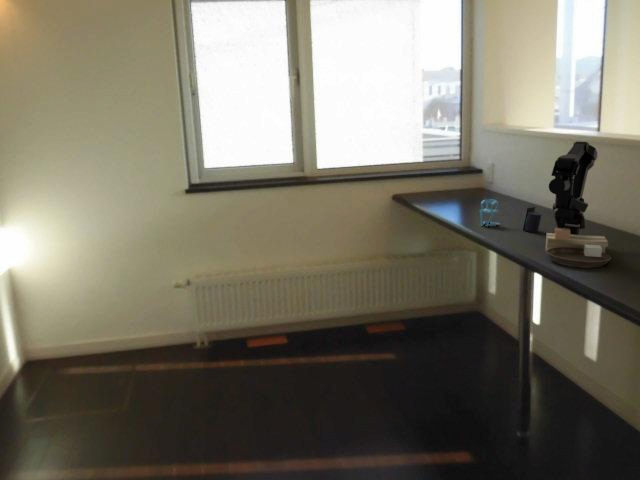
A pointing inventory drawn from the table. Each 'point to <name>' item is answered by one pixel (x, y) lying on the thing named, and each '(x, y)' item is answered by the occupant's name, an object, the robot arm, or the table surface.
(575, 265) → the plant saucer
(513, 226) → the table surface
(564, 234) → the tan clay block
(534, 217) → the speaker
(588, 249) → the light grey block
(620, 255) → the table surface
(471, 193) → the table surface
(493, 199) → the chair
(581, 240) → the beige elongated piece
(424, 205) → the table surface
